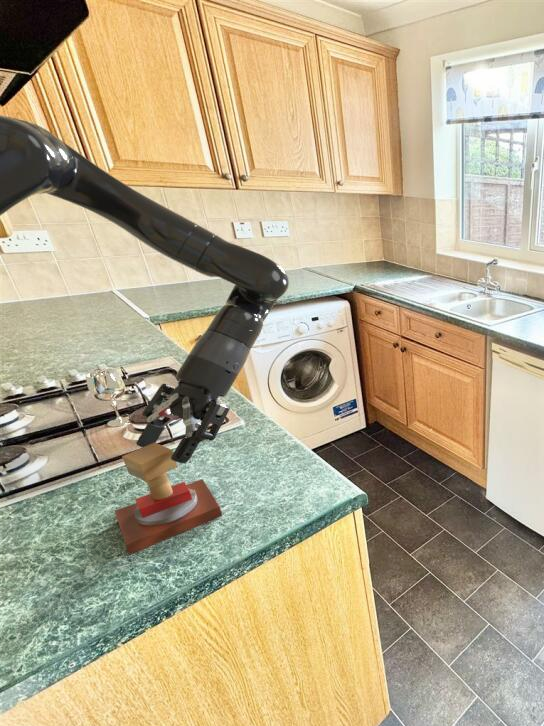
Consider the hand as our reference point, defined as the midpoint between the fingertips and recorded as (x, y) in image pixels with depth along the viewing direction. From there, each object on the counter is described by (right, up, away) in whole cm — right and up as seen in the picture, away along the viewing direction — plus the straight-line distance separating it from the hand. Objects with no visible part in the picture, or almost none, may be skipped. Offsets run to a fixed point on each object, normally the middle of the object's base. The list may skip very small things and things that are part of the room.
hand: (160, 454), depth 66 cm
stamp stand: (-1, -11, +4) cm, 12 cm away
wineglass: (-33, +2, +29) cm, 44 cm away
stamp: (-1, -9, +3) cm, 10 cm away
